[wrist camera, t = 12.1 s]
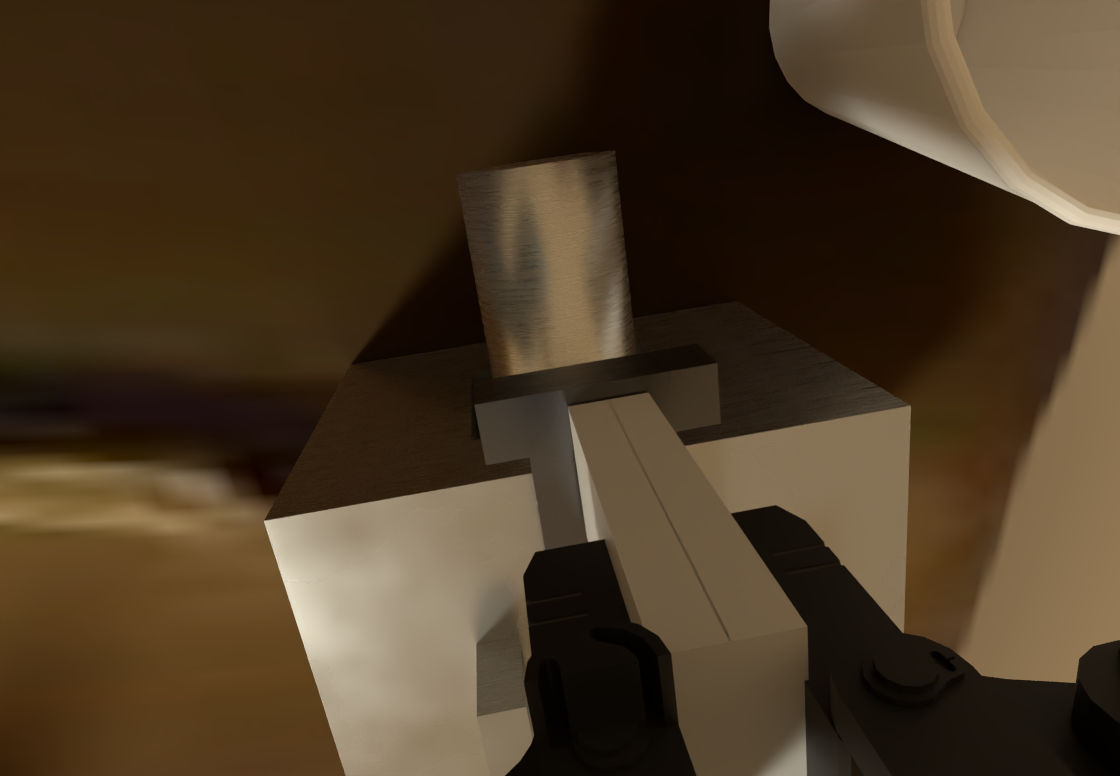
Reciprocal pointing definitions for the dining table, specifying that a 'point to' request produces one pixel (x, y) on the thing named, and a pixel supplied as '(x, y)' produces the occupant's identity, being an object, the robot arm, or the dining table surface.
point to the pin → (549, 261)
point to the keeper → (544, 426)
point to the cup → (974, 88)
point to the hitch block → (538, 528)
